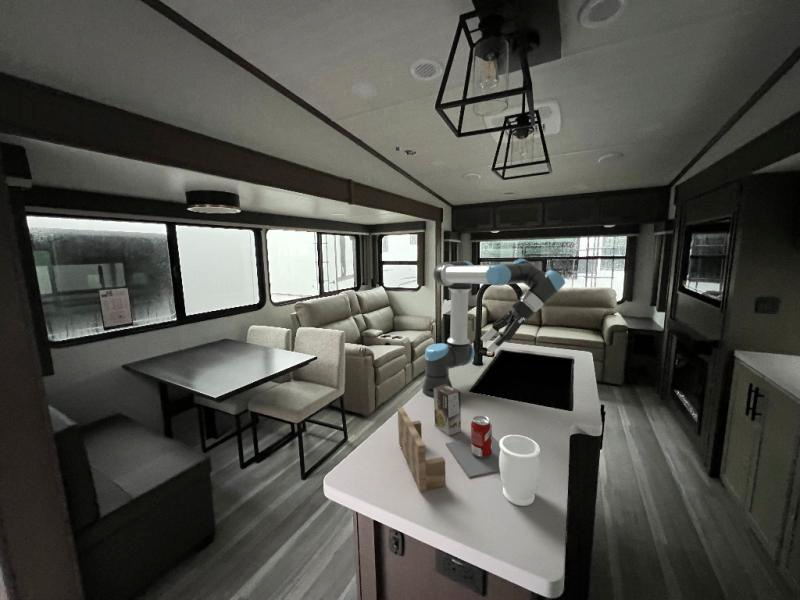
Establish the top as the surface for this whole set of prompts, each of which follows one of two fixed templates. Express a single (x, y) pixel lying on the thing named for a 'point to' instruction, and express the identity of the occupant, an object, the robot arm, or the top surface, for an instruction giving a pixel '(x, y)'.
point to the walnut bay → (419, 455)
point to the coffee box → (447, 409)
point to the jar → (519, 468)
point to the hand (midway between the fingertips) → (485, 345)
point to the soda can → (481, 437)
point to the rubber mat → (475, 458)
